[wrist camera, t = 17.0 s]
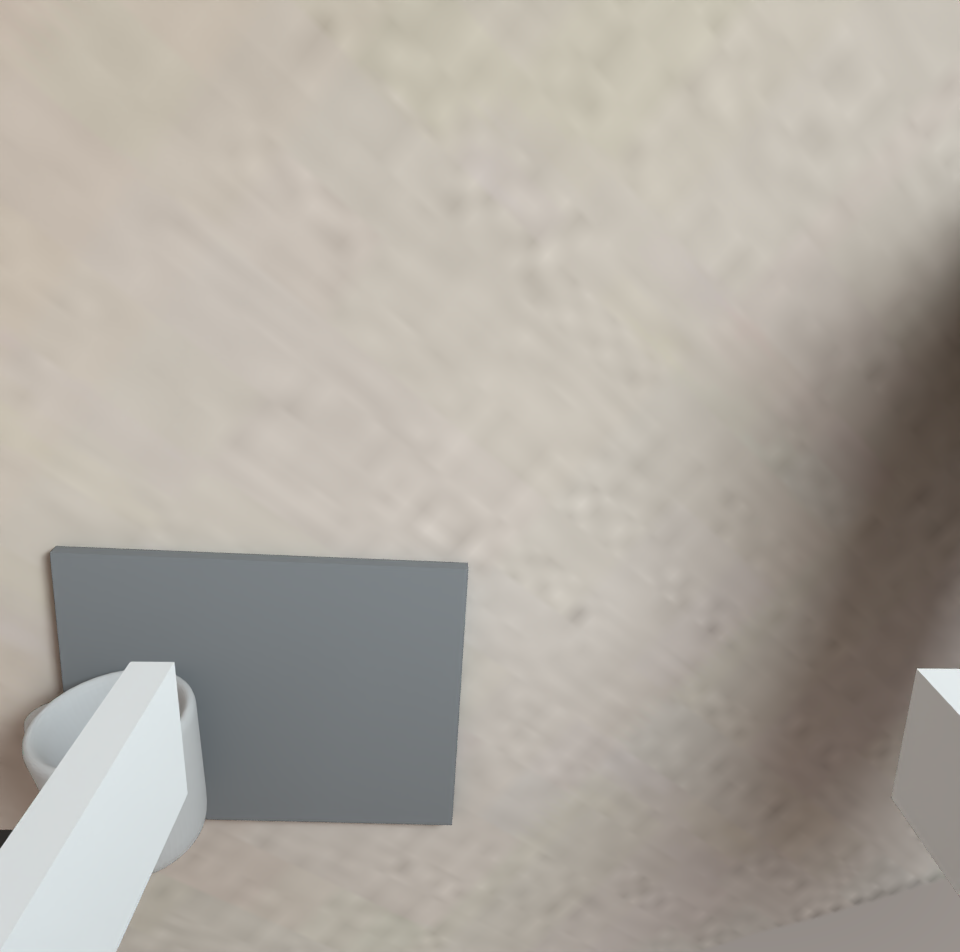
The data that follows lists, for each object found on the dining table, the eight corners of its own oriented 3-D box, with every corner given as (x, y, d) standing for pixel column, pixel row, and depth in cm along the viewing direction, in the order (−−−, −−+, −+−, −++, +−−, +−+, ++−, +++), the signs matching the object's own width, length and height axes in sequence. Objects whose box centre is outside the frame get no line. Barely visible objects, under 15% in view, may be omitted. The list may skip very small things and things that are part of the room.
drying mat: (467, 562, 47) (468, 569, 46) (451, 815, 52) (451, 825, 51) (56, 546, 45) (49, 552, 45) (81, 806, 51) (75, 816, 50)
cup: (-7, 851, 46) (-55, 730, 43) (114, 753, 53) (80, 641, 49) (142, 927, 42) (100, 797, 38) (255, 809, 48) (228, 688, 45)
